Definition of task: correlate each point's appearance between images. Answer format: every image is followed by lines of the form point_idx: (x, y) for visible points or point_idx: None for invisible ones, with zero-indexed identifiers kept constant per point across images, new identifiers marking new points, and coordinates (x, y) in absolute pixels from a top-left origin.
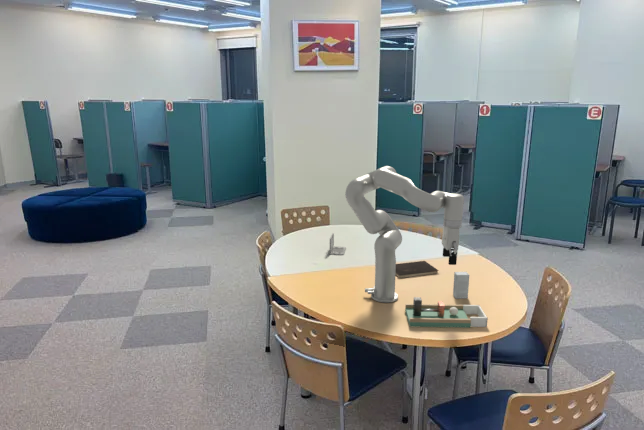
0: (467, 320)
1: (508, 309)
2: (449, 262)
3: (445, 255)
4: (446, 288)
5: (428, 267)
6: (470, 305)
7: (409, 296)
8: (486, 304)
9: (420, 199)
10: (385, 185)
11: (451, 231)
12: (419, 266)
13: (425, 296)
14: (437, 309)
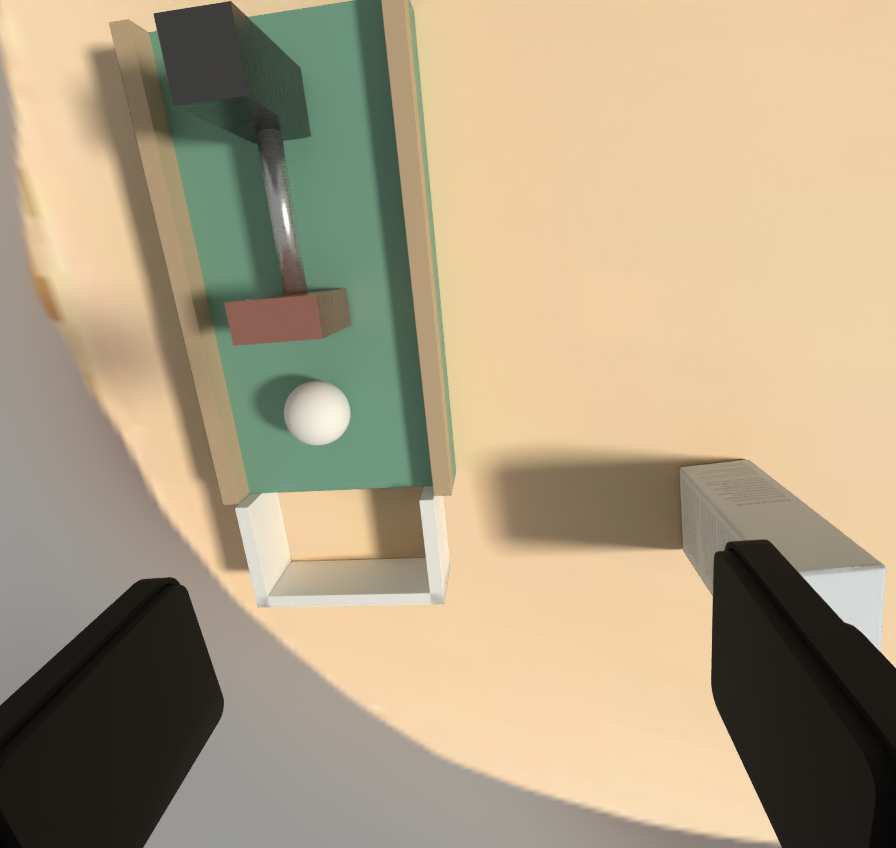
0: (220, 481)
1: (524, 731)
2: (112, 620)
3: (726, 617)
4: (890, 428)
5: None
6: (428, 546)
7: (732, 61)
8: (587, 639)
9: None
10: None
11: None
12: None
13: (727, 225)
14: (286, 286)
